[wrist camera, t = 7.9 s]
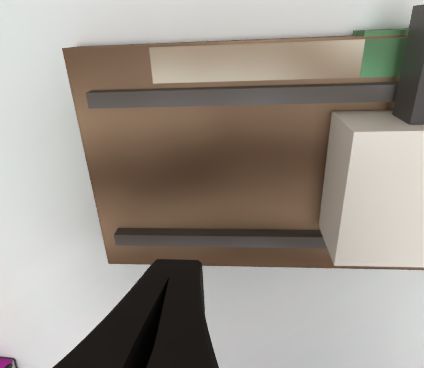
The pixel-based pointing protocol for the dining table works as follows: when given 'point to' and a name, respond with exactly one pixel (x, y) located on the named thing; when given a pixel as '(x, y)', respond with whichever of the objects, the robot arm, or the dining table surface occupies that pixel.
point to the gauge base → (222, 142)
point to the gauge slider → (379, 173)
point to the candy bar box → (7, 363)
